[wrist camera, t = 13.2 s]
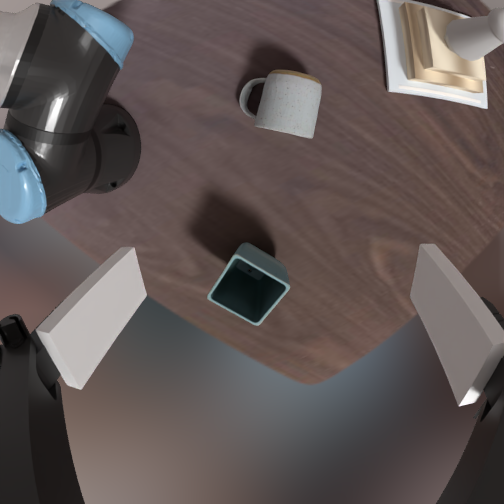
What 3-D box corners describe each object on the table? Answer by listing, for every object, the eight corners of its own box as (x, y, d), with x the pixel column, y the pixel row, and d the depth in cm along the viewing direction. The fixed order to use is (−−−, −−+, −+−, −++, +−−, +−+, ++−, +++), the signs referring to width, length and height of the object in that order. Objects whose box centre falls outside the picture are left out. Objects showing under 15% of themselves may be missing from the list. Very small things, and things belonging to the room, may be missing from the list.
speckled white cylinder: (321, 83, 36) (326, 76, 29) (311, 138, 39) (313, 141, 32) (246, 70, 36) (235, 60, 29) (237, 124, 40) (224, 125, 33)
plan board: (387, 91, 34) (389, 90, 33) (375, -4, 28) (377, -6, 27) (484, 108, 32) (487, 108, 31) (474, 20, 25) (477, 19, 24)
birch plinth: (407, 80, 32) (424, 75, 27) (398, 8, 27) (412, -5, 22) (473, 93, 30) (494, 92, 25) (464, 24, 25) (483, 17, 20)
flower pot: (263, 294, 51) (257, 327, 43) (219, 268, 50) (205, 298, 42) (292, 256, 48) (291, 286, 40) (245, 227, 47) (234, 252, 38)
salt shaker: (480, 54, 23) (539, 44, 12) (456, 69, 25) (516, 59, 14) (456, 18, 22) (509, -6, 10) (431, 31, 24) (483, 5, 12)
